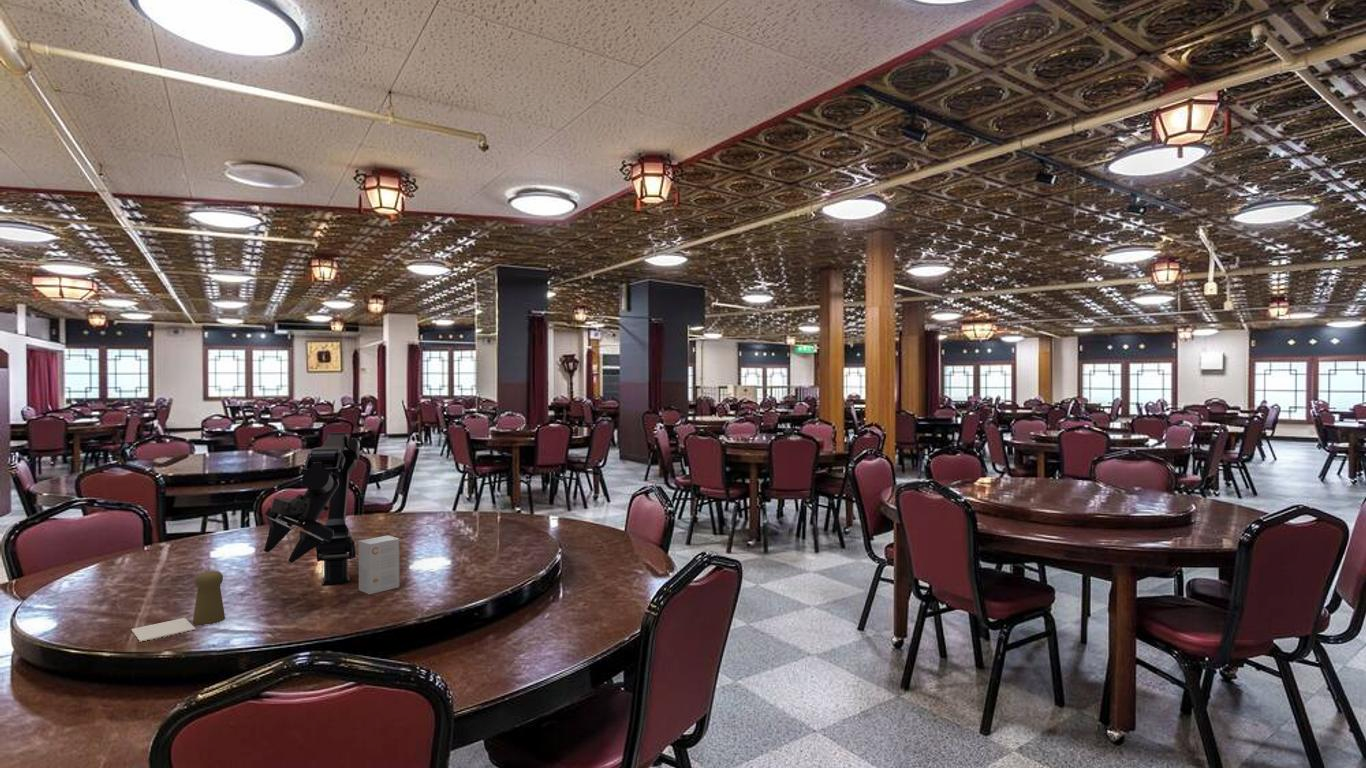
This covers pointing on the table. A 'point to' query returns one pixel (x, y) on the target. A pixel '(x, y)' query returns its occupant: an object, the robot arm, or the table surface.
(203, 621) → the cork
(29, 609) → the table surface
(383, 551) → the small box
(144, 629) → the mat
